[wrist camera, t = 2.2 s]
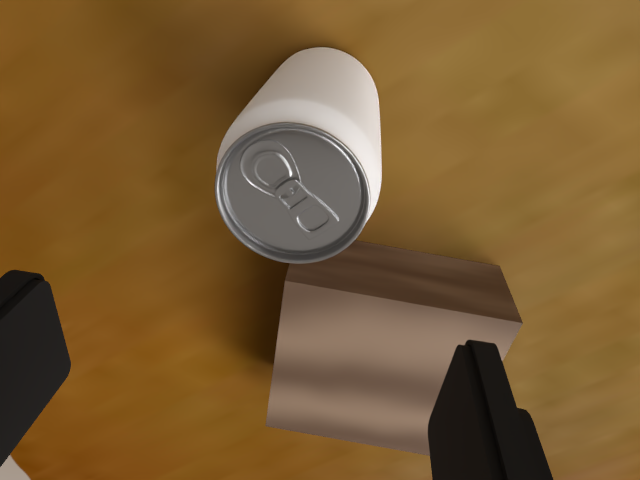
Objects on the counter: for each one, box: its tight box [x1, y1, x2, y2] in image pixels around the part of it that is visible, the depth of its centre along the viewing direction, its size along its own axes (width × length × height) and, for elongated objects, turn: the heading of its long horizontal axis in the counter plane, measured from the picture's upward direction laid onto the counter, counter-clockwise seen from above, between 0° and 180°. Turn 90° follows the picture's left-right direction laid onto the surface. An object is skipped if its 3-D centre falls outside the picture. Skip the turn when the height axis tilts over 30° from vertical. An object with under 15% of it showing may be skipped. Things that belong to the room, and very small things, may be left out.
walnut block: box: [266, 240, 523, 456], centre depth 32 cm, size 14×14×6 cm
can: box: [215, 47, 382, 264], centre depth 21 cm, size 6×6×12 cm
